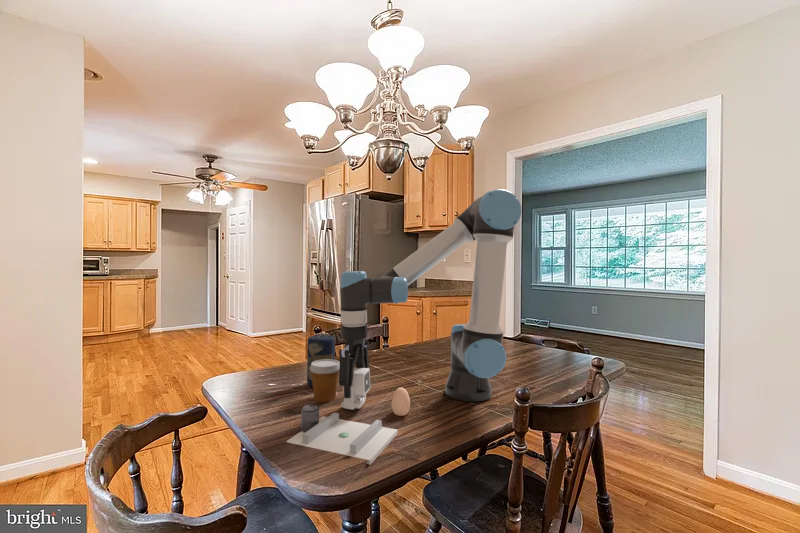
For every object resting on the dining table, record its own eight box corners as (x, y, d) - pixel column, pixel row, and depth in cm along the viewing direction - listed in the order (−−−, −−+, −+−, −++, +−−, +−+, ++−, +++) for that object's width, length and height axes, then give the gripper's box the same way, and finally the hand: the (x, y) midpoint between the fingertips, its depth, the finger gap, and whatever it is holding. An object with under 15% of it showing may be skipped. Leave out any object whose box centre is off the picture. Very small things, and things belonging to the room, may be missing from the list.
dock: (397, 433, 96) (397, 421, 96) (370, 464, 81) (370, 451, 81) (323, 419, 104) (323, 408, 104) (285, 445, 89) (285, 433, 89)
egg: (408, 412, 109) (408, 384, 109) (411, 420, 104) (412, 390, 104) (390, 413, 109) (390, 385, 109) (392, 421, 103) (393, 391, 103)
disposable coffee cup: (325, 409, 111) (326, 368, 111) (302, 402, 116) (303, 364, 116) (346, 399, 119) (347, 361, 119) (324, 393, 124) (324, 357, 124)
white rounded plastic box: (364, 409, 106) (363, 373, 106) (340, 408, 107) (339, 372, 107) (370, 401, 112) (369, 367, 112) (348, 399, 113) (347, 366, 113)
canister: (301, 386, 131) (301, 335, 131) (317, 379, 140) (317, 330, 139) (324, 390, 127) (325, 337, 127) (339, 382, 136) (339, 332, 136)
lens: (322, 426, 97) (322, 405, 97) (312, 433, 93) (312, 411, 93) (307, 424, 99) (307, 402, 99) (297, 431, 95) (297, 408, 95)
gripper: (358, 318, 120) (359, 391, 120) (324, 329, 101) (325, 415, 102) (379, 319, 117) (381, 393, 118) (348, 331, 99) (350, 418, 99)
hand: (355, 403), depth 110 cm, fingers closed on white rounded plastic box, 7 cm apart
